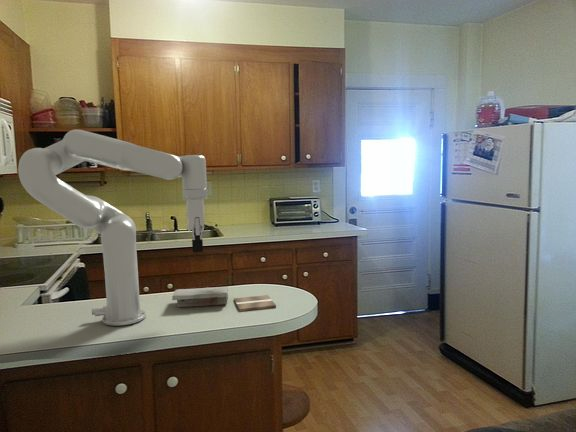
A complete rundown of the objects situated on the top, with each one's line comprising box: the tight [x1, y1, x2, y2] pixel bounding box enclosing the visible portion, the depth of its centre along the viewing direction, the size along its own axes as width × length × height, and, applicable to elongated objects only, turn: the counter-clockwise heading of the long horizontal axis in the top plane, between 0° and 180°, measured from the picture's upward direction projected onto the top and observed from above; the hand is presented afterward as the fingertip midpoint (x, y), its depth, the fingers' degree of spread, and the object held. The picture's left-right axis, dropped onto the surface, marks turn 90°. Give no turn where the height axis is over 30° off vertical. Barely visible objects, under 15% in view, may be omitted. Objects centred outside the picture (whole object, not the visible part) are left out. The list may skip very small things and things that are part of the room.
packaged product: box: [171, 286, 229, 308], centre depth 149 cm, size 18×5×10 cm
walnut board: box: [233, 294, 277, 312], centre depth 149 cm, size 12×12×1 cm
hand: (197, 251), depth 142 cm, fingers closed
